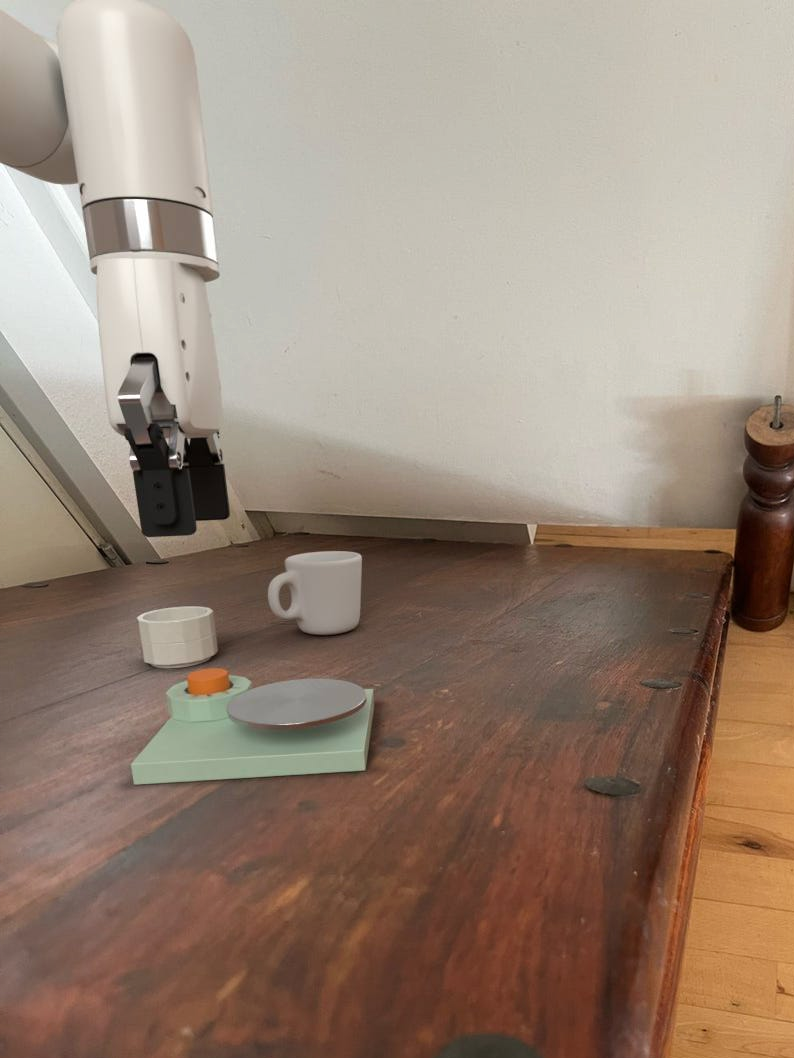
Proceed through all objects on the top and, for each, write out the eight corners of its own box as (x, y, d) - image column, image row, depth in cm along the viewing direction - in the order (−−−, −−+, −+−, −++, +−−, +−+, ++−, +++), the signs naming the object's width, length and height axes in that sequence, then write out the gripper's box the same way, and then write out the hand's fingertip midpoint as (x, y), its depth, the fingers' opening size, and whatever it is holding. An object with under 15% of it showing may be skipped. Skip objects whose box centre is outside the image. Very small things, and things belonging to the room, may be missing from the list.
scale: (127, 785, 47) (120, 739, 46) (185, 714, 59) (179, 677, 58) (365, 771, 48) (362, 725, 47) (374, 704, 60) (372, 667, 59)
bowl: (133, 672, 70) (126, 624, 69) (156, 652, 76) (150, 607, 75) (207, 668, 70) (201, 620, 69) (225, 648, 77) (219, 604, 76)
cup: (297, 650, 76) (289, 569, 73) (253, 637, 81) (245, 562, 79) (381, 628, 83) (377, 554, 81) (336, 618, 88) (331, 548, 86)
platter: (211, 734, 46) (211, 728, 46) (243, 687, 55) (242, 682, 55) (362, 725, 47) (361, 719, 47) (369, 680, 56) (369, 675, 56)
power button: (184, 699, 54) (181, 680, 54) (195, 686, 57) (192, 669, 56) (225, 697, 54) (222, 678, 54) (233, 684, 57) (231, 667, 57)
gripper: (138, 278, 56) (171, 517, 61) (24, 210, 39) (81, 547, 44) (243, 276, 57) (268, 512, 61) (175, 208, 40) (216, 541, 44)
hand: (190, 526), depth 52 cm, fingers open, 8 cm apart
